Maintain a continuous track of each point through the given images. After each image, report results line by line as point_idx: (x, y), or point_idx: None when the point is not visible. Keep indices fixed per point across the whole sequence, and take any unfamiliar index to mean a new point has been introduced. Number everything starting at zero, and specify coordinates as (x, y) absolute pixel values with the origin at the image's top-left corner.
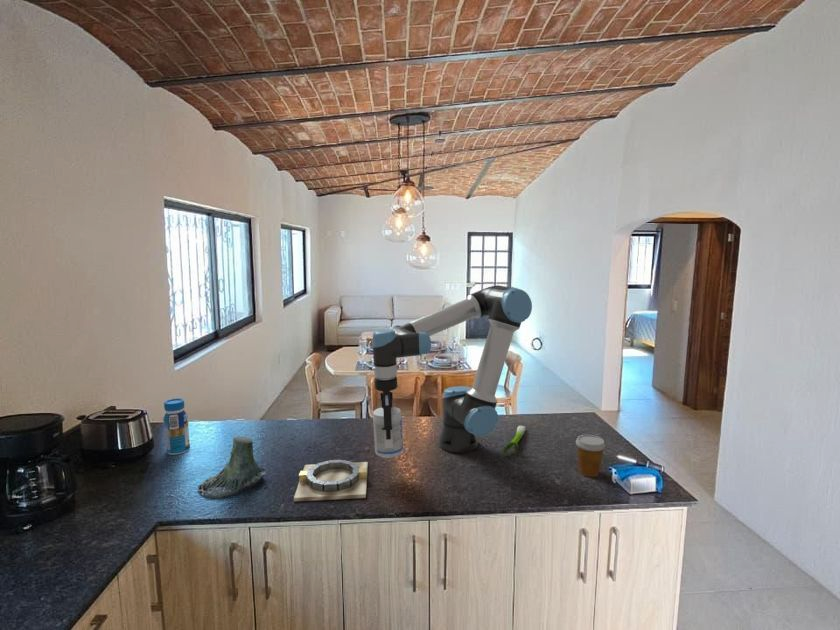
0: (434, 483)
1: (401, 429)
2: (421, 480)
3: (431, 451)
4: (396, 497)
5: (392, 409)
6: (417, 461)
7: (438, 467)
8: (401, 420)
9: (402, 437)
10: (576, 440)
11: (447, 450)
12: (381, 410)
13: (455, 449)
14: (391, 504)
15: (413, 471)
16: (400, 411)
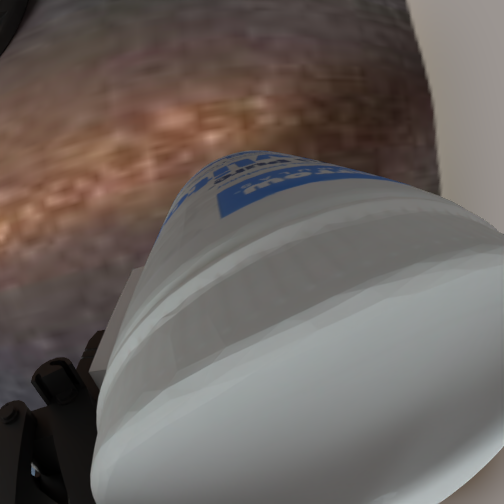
0: (277, 28)
1: (333, 164)
2: (259, 74)
3: (10, 92)
4: (383, 159)
5: (302, 490)
6: (91, 120)
7: (139, 26)
8: (363, 175)
9: (275, 154)
10: None
11: (11, 35)
12: None
13: (20, 3)
14: (417, 171)
15: (183, 116)
16: (485, 249)
